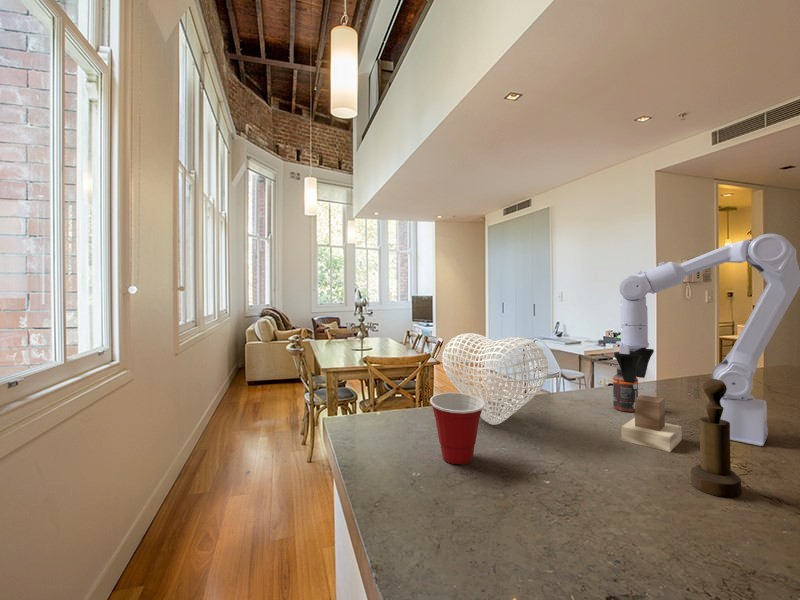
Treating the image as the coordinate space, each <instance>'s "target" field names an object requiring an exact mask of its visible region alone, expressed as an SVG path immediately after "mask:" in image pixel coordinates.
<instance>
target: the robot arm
mask: <svg viewBox="0 0 800 600" xmlns="http://www.w3.org/2000/svg"><path fill="white" fill-rule="evenodd" d="M746 262H747V264H749V265H750V266H751V267H753V268H754V269H756V270H757V271H758V272H759V274H760V275H761V277H762V279H764V281H765V283H766V284H765V287H764V289H763V291H762V292H761V294H760V297H759V298H758V300H757V302H756V304H755V305H754V307H753V309H752V311H751V313H750V314H749V316H748V319H747V320H746V322H745V324H744V326H743V328H742V329H741V330H740V333H739V335H738V337H737V339H736V341H735V343H734V344H733V346H732V347H731V350H730V351H729V352H728V353H727V354H726V356H725V357H724V359H723V360H722V361H721V362H720V363H718V364H716V365H715V366H714V367H713V368H712V371H711V379H718V380H721V381H723V382H724V383H725V385H726V388H727V390H726V393H725V394H724V396H723V397H722V398H721V400H720V404H721V406H722V407H723V413H722V416H721V419H722V420H725V421H728V422H729V423H730V441H734V442H738V443H739V442H740V443H745V444H750V445H754V446H759V447H764V445H765V442H766V440H767V437H768V435H769V427H768V423H767V422H768V415H767V414H768V413H767V412H768V409H767V408H768V407H767V401H766V400H764V399H758V398H755V397H754V395H753V393H752V391H753V388H754V375H755V373H756V371H757V368H758V363H759V360H760V358H761V356H762V354H763V352H764V351H765V349H766V347H767V345H768V344H769V342H770V340H771V338H772V337H773V335H774V333H775V331H776V330H777V327H778V326H779V324H780V322H781V321H782V319H783V317H784V316H785V314H786V311H787V310H788V308H789V306H790V305H791V303H792V302H793V300H794V298H795V296H796V294H797V292H798V291H799V289H800V266H799V262H798V258H797V249H796V247H794V246H793V244H792V243H791V242H790V240H788V239H787V238H786V237H784V236H783V235H781V234H777V233H764V234H760V235H759V236H757V237H755V238H754V239H752V238H747V239H743V240H740V241H739V240H738V241H737V242H733V243H729V244H727V245H723V246H721V247H719V248H716V249H714V250H711V251H709V252H706V253H704V254H701V255H698V256H697V257H694V258H691V259H688V260H686V261H684V262H681V263H677V262H674V261H668V262H665V261H662V262H659V263H658V265H657V266H655V267H652V268H650V269H648V270H645V271H642V270H640V271H638V272H636V274H637V275H629V276H627V277H626V278H624V279H622V281H620V285H619V293H620V295H621V299H620V304H621V306H620V340H619V341H618V340H617V341H616V342H615V345H618V349H619V351H615V352H613V354H614V358H615V359H616V361H617V363H618V365H619V367H620V368H621V372H622V376H623V379H624V382H629V383H634V382H635V379H636V378H639V379H640V378H642V379H645V377H646V374H647V370H648V365H649V362H650V359H651V357H652V356H653V354H654V352H655V351H654V349H653V348H649V347H650V344H649V337H648V336H649V335H648V333H649V330H648V327H649V326H648V315H649V314H648V306H647V294H652V295H654V294H656V293H659V292H661V291H662V292H663V291H665V290H668V289H670V288H673V287H676V286H679V285H682V284H683V283H684V280H685V278H686V276H690V275H692V274H696V273H698V272H699V273H700V272H701V271H704V270H708V269H711V268H713V267H717V266H719V265H722V264H726V263H729V264H730V263H732V264H734V263H735V264H742V263H746Z"/></svg>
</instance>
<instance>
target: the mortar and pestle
mask: <svg viewBox="0 0 800 600" xmlns="http://www.w3.org/2000/svg"><path fill="white" fill-rule="evenodd" d="M702 389H703V391H704V393H705V395H706V396H707V397H708V404H706V405H705V411H706V413H707V416H708V417H704V416H703V417H700V418H699V420H698V421H699V424H698V425H699V453H700V454H699V457H700V458H699V461H700V463H698V464H697V465H695V466H693V467H691V469H690V482H691V483H690V484H691V485H692V487H694V488H695V489H696V488H697V490H698V491H700V492H703V493H705V494H708V495H711V496H717V497H720V498H721V497H722V498H738V497H740V496H741V495H742V479H741V477H740V476H739V475H737V474H736V473H735V471H733V470H732V468H731V467H732V466H731V463H732V462H731V440H730V423H729V422H728V421H725V420H722V419H721V416H722V413H723V407H722V406H721V404H720V400H721V398H722V397H723V396H724V394H725V393H726V390H727V388H726V385H725V383H724V382H723V381H721V380H718V379H713V378H708V379H705V381H704V382H703V384H702Z"/></svg>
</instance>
